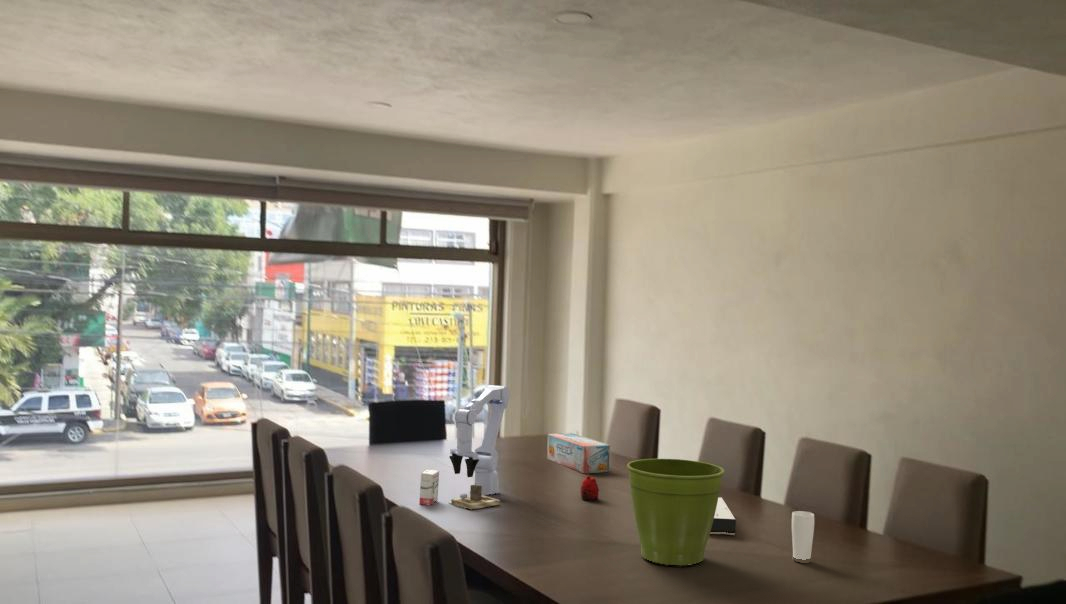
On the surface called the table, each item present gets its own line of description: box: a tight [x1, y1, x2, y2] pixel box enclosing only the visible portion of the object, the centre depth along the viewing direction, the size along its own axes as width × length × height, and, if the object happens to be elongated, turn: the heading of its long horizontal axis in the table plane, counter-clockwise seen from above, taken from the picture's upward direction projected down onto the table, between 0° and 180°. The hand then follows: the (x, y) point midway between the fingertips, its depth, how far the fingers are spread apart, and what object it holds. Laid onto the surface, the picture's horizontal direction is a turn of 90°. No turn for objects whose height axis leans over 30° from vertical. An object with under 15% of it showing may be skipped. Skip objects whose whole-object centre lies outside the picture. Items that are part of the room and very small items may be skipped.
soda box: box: [546, 432, 611, 474], centre depth 436 cm, size 41×14×13 cm, turn 24°
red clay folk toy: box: [580, 463, 600, 501], centre depth 364 cm, size 8×7×15 cm
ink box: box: [419, 469, 440, 506], centre depth 351 cm, size 9×5×12 cm, turn 169°
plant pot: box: [626, 458, 725, 566], centre depth 285 cm, size 30×30×29 cm
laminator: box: [710, 496, 737, 533], centre depth 332 cm, size 34×12×6 cm, turn 176°
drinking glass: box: [791, 510, 815, 560], centre depth 286 cm, size 7×7×15 cm
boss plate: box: [448, 493, 468, 509], centre depth 351 cm, size 13×11×4 cm
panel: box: [450, 484, 501, 510], centre depth 349 cm, size 14×12×7 cm
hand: (463, 475), depth 356 cm, fingers open, 7 cm apart
